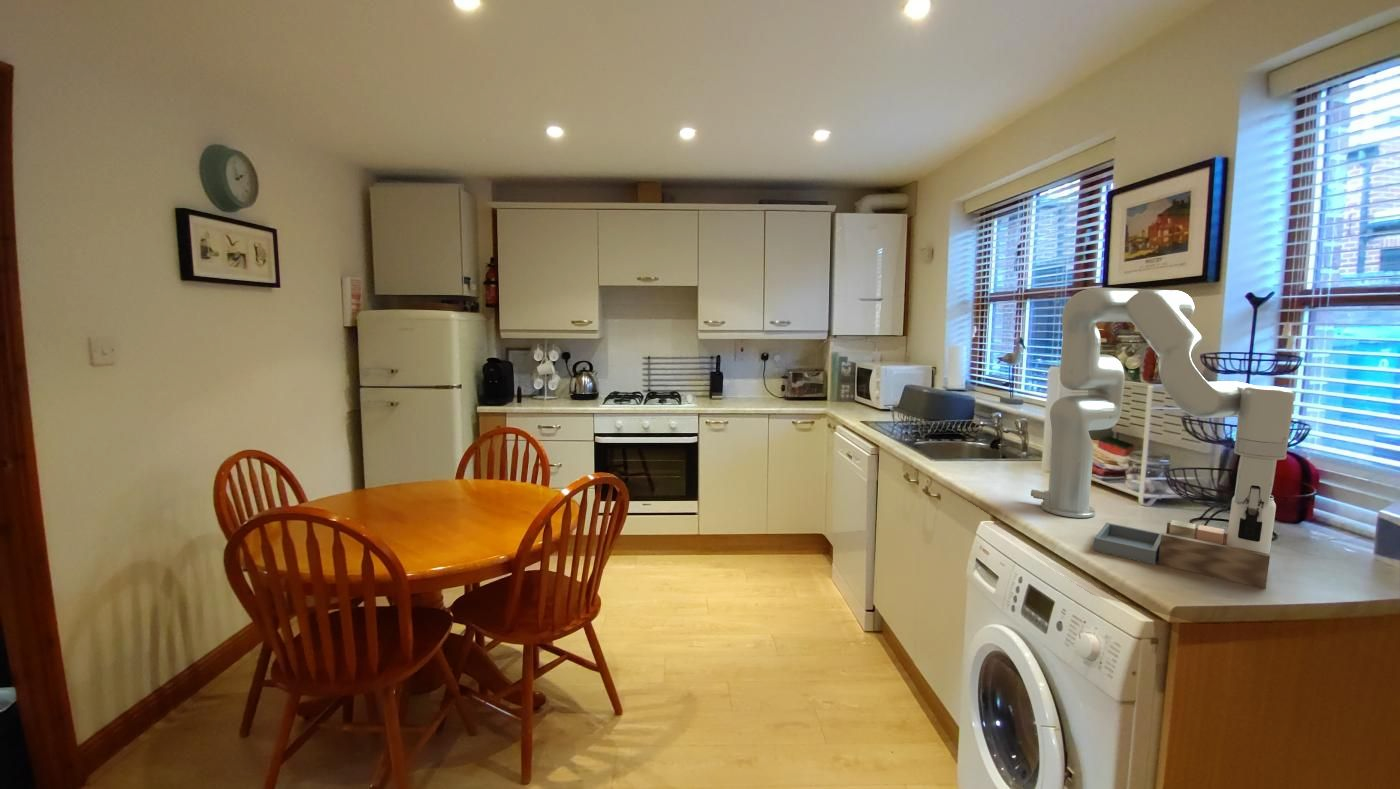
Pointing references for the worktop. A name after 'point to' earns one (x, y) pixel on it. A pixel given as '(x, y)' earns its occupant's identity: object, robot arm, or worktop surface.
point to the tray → (1128, 542)
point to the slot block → (1214, 559)
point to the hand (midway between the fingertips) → (1249, 534)
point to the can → (1266, 530)
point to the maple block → (1182, 529)
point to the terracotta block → (1210, 534)
